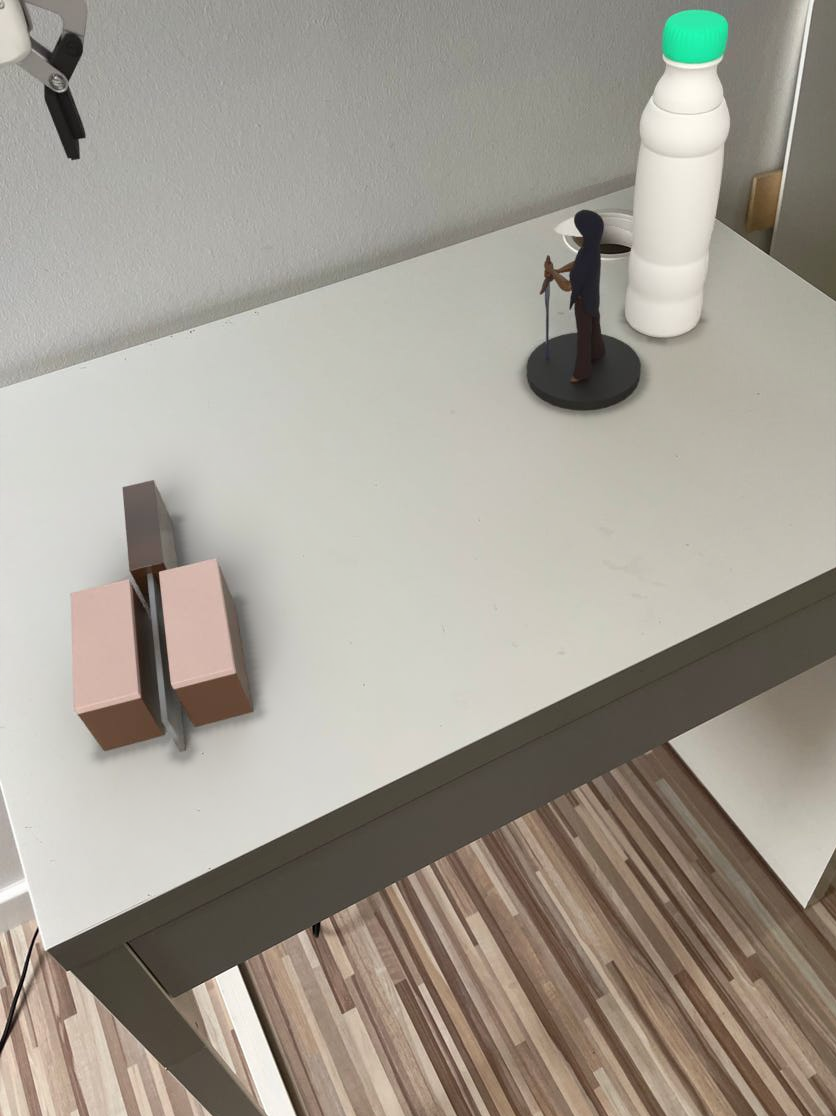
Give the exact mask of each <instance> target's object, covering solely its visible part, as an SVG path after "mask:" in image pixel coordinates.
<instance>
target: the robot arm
mask: <svg viewBox="0 0 836 1116" xmlns="http://www.w3.org/2000/svg"><path fill="white" fill-rule="evenodd" d="M28 4H29V5H32V6H35V7H38V8H41V9H42V10H43V9H44V10H46V11H49V12H52V13H55V14H56V15H58V16H59V17H60V18H61V20H62V28H61V33H60V35H59V37H58V39H57V41H56V43H55V45H54V48H53V49H52V48H50V46H48V45H47V44H45V43H44V42H43V41H41V40H40V39H39V38H38V37H36V36H35V35H34V34H32V33H31V31H33V30H34V25H33V20H32V16H31V13H30V11H29V7H28ZM88 11H89V10H88V0H0V69H1V68H6V67H10V66H14V65H17V66H19V67H20V68H21V69H23V70H24V71H25V72H27V73H28V74H30V75H31V76H32V77H34V78H35V79H36V80H37V81H39V82H41V83H42V84H43V98H44V101H45V105H46V107H47V109H48V112H49V115H50V117H51V120H52V122H53V124H54V127H55V129H56V132H57V135H58V137H59V140H60V143H61V145H62V148H63V151H64V153H65V155H66V157H67V159H68V160H69V159H70V160H71V161H77V160H80V159H81V150H80V140H83V139H86V138H87V135H86V131H85V126H84V124H83V120H82V118H81V115H80V113H79V111H78V107H77V105H76V102H75V99H74V96H73V94H72V91H71V88H70V86H69V82H70V80H71V78H72V76H73V74H74V72H75V70H76V68H77V66H78V64H79V62H80V60H81V58H82V56H83V53H84V43H85V36H86V28H87V18H88Z"/></svg>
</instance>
